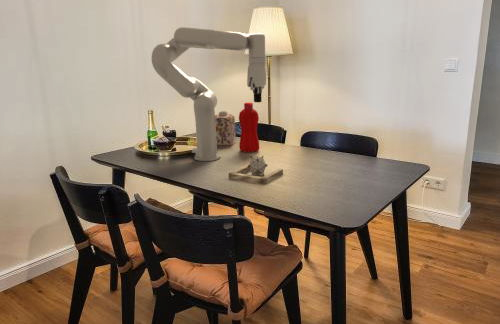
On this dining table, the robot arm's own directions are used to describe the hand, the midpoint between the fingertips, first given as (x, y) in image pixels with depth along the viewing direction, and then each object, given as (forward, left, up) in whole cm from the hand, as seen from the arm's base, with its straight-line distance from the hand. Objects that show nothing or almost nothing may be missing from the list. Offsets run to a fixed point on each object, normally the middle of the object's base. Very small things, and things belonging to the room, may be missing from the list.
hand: (257, 102), depth 188 cm
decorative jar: (-34, +19, -27) cm, 48 cm away
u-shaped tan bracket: (+14, -24, -27) cm, 39 cm away
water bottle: (-11, +10, -27) cm, 31 cm away
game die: (+14, -24, -27) cm, 39 cm away
